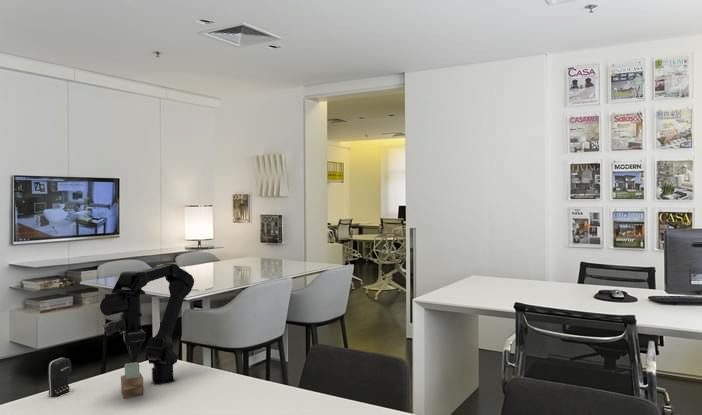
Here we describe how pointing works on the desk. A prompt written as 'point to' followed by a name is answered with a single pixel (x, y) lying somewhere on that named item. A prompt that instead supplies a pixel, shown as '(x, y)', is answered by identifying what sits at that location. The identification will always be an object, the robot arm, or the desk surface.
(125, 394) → the block
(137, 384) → the brown square block
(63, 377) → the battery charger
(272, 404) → the desk surface
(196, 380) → the desk surface
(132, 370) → the sage block
